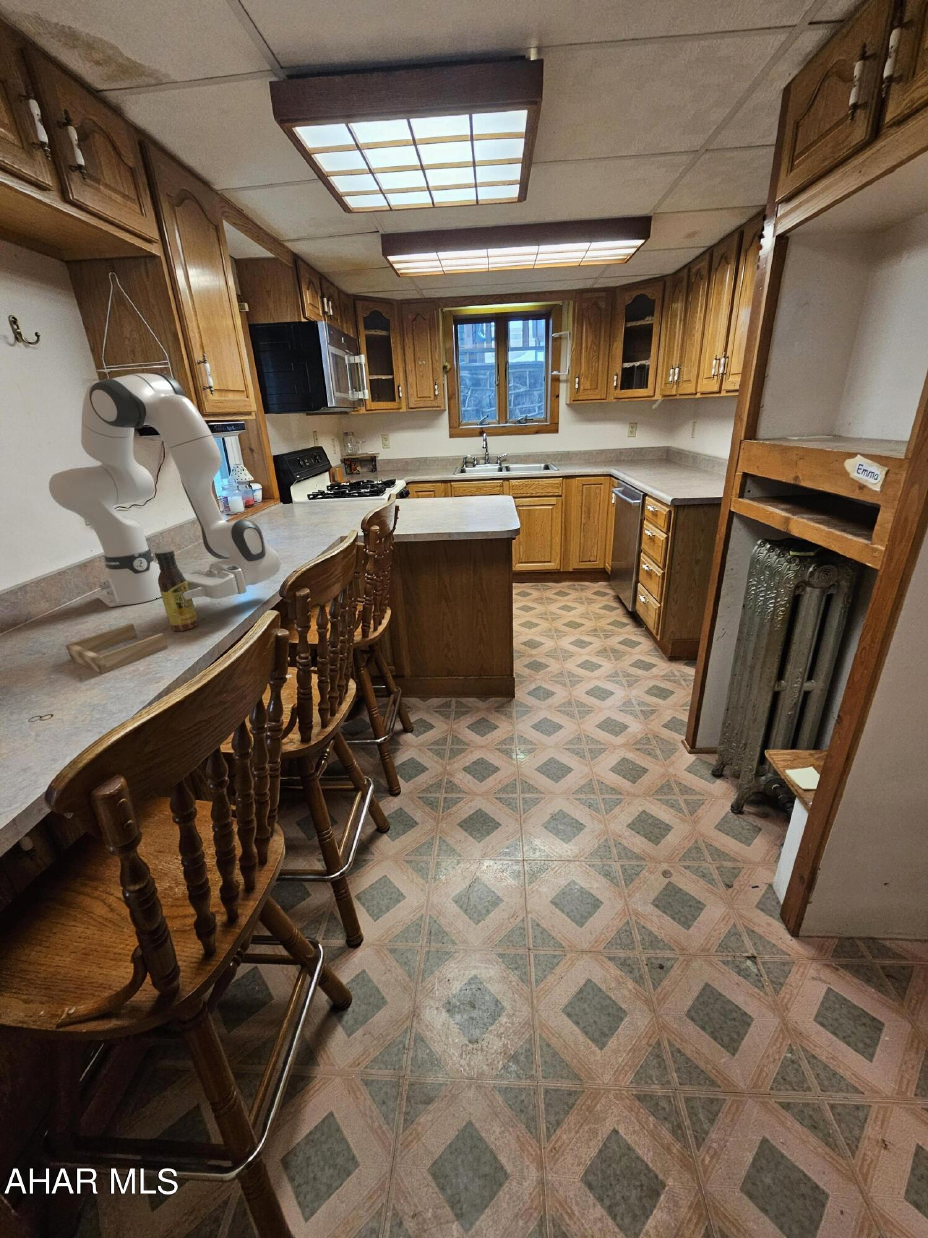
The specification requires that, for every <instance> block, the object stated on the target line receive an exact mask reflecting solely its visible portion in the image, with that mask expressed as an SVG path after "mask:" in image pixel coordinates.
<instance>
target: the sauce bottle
mask: <svg viewBox="0 0 928 1238" xmlns="http://www.w3.org/2000/svg"><path fill="white" fill-rule="evenodd" d="M175 556H176V555H175V552H174V550H173V549H171V548H170V549H163V550H158V551H155V552H154V557H155V559H157V564H159V569H160V574H159V577H158V584H159V587H160V593H161V596H162V597H161V600H162V602H163V607H164V610H165V613H166V617H167V619H168V623H169V625H170V628H171V630H172V631H173V632H183V631H187V630H191V629H194V628H195V627H196V626H197V625H198V624H199V623H198V622H199V621H198V616H197V612H196V608H195V606H194V605H195V604H194V602H193V598H191V599H188V600H187V599H183V598H182V595H181V593H182V592H184V591H187V590H189V586H188V582H187V580H186V579H185V578H184V576H183V575H182V572H181V570H180V569H179V567H178V564H177V562H176V557H175Z"/></svg>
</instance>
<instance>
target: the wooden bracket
mask: <svg viewBox="0 0 928 1238" xmlns="http://www.w3.org/2000/svg"><path fill="white" fill-rule="evenodd" d="M134 625H135V624H134V623H131V622H130V623H127V624H124V625H121V626H119V627H116V628H113V629H110V630H107V631H104V632H101V633H98V634H95V635H92V636H90V637H89V636H88V637H86V638H82V639H79V640H77V641H74V642H71V643H68V644H66V645H65V648H66V650H67V653H68V654H69V657H70V659H71V660H72V661H75V662H76V663H78V664H80V665H83V666H84V667H87V668H89V669H91V670H94V671H95V672H97V673H100V674H102V675H103V674H106V673H108V672H111V671H114V670H116V669H118V668H121V667H124V666H125V665H128V664H131V663H134V662H136V661H138V660H142V659H144V658H146V657H149V656H151V655H153V654H156V653H159V652H161V651H164V650H167V649H168V648H169V647H168V643H167V641H166V637H165V634H164V633H162V632H161V633H157V634H155V635H151V636H149V637H146V638H145V639H142V640H138V641H136V642H134V643H131V644H128V645H125V646H123V647H120V648H117V649H114V650H112V651H109V652H106V653H104V654H101V655H100V654H98V653H97V652H100V651H102V650H106V649H108V647H109V648H111V647H114V646H117V645H119V643H120V644H122V643H121V642H123V643H125V642H127V641H130V639H131V640H132V639H133V638H134V637H136V638H138V634H137V631H136V629H135V626H134ZM134 639H135V638H134ZM134 639H133V640H134ZM116 644H117V645H116ZM113 645H114V646H113Z"/></svg>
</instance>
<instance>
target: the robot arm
mask: <svg viewBox="0 0 928 1238" xmlns="http://www.w3.org/2000/svg"><path fill="white" fill-rule="evenodd" d="M81 410H82V411H81V428H80V429H81V432H80V433H81V434H80V437H81V438H80V443H81V446H82V449H83V451H84V452H85V453H86V454H87V455H88V457H91V458H92V459H93V460H96V461H97V462H99V463H100V464H98V465H95V466H88V467H87V466H85V467H76V468H70V469H66V470H63V471H59V472H56V473H54V474H53V475H51V477H50V479H49V482H48V490H49V493H50V496H51V497H52V499H53V500H54V502H55V503H56V504H58V505H59V506H60V507H61V508H63V509H65V510H67V511H70V512H73V513H75V514H76V515H79V517H81V518H83V520H84V521H86V522H87V523H88V524H89V526H90V527H91V528H92V529H93V531H94V532H95V535H96V537H97V538H98V541H99V543H100V545H101V547H102V550H103V552H104V553H103V554H104V563H105V568H107V569H106V571H105V574H104V575H103V577H102V578H101V581H102V582H99V583H98V587H99V588H100V590H101V591H105V592H103V593H100V594H98V599H99V600H100V601H101V602H102V603H104V605H106V606H107V607H109V608H112V607H114V608H115V607H118V606H119V607H120V606H127V605H128V606H129V605H136V604H141V603H146V602H150V601H154V600H157V599H159V598H162V596H161V593H160V587H159V584H158V577H159V574H160V569H159V564H158V562H157V563H156V562H155V558H154V554H153V552H152V550H151V548H149V546H148V542H147V540H146V537H145V533H144V530H143V527H142V525H140V523H139V522H137V521H136V520H134V519H133V518H129V517H126V516H122V515H120V513H118V512H117V510H116V509H115V506H117V505H118V506H119V505H125V504H130V503H136V502H138V501H139V502H140V501H141V500H143V499H146V498H148V497H151V496H152V495H153V493H154V491H155V490H154V489H155V481H154V478H153V476H152V474H151V473H150V471H149V470H148V469H147V468H146V467H144V466H143V465H141V464H139V463H138V462H137V461H136V459H135V457H134V438H135V437H134V436H135V429H142V428H143V426H144V425H147V426H149V427H152V428H153V429H155V430H156V431H157V432H158V434H159V436H160V437H161V439H162V441H163V443H164V445H165V447H166V449H167V450H168V452H169V454H170V456H171V459H172V461H173V462H174V464H175V467H176V469H177V472H178V474H179V478H180V481H181V484H182V488H183V490H184V493H185V495H186V497H187V499H188V502H189V504H190V506H191V509H192V510H193V513H194V514H195V517H196V519H197V522H198V524H199V526H200V531H201V536H202V542H203V546H204V548H205V550H206V551H207V552H208V553H209V554H210V555H211V556H213V557H214V558H216V559H219V561H215V562H212V563H211V564H210V565H209V567H208V569H207V570H205V571H204V570H201V569H200V570H198V569H197V570H191V571H186V572H183V573H182V572H181V573H182V575H183V576H184V578H185V579H186V580H187V582H188V586H189V590H187V591H184V592H182V593H181V595H182V598H183V599H187V600H188V599H191V598H192V599H195V598H203V597H206V598H208V599H209V598H210V599H214V600H217V599H223V598H227V597H231V596H233V595H243V594H245V593H247V592H248V591H247V587H248V586H254V585H258V584H260V583H263V582H266V581H268V580H270V579H271V578H273V577H275V576H276V575H277V574H278V573H279V572H280V569H281V559H280V556H279V554H278V552H277V551H276V550H275V549H273V548H272V547H271V546H270V545H269V543H267V541H266V540H265V538H264V536H263V532H262V530H261V528H260V527H259V525H258V524H257V523H256V522H254V521H253V520H250V519H246V518H245V519H244V518H243V519H237V520H232V521H229V522H228V521H227V520H225V518H224V517H223V514H222V512H221V510H220V508H219V505H218V503H217V500H216V498H215V495H214V494H213V488H212V487H213V486H212V485H213V482H214V479H215V477H216V475H217V474H218V473H219V470H220V469H221V465H222V462H223V458H222V454H221V452H220V451H221V450H220V449H219V445H218V444H217V441H216V440H215V437H214V436H213V434H212V431H211V429H210V428H209V426H208V425H207V423H206V420H205V419H204V418H203V416H202V415H201V413H200V411H199V410H198V409H197V408H196V406H195V405H194V403H193V402H192V401H191V400H190V399H189V398H187V397H186V396H185V392H184V390H183V388H182V386H181V385H180V383H179V382H178V381H177V380H176V379H175V378H173V376H171V375H168V374H165V373H160V372H150V373H130V374H127V375H122V376H117V377H113V378H104V379H102V380H96V381H93V382H91V383H90V384H89V385H88V386H87V389H86V390H85V395H84V397H83V404H82V409H81ZM156 598H157V599H156Z"/></svg>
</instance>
